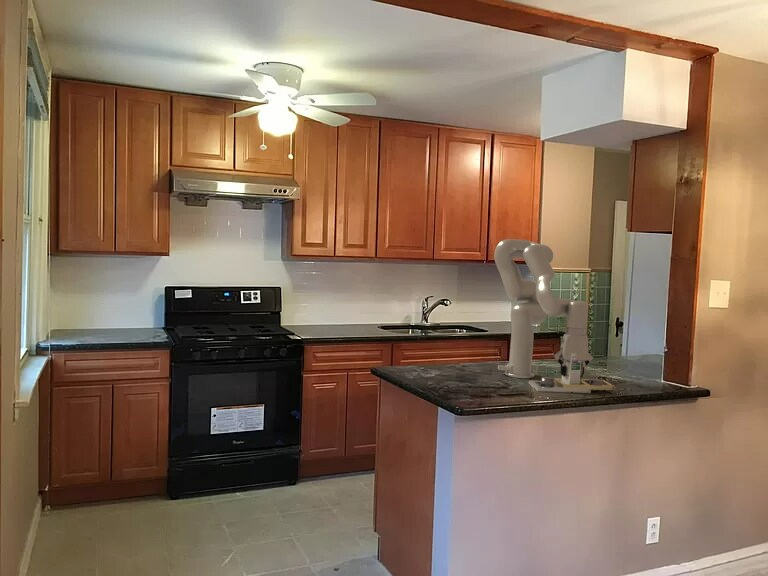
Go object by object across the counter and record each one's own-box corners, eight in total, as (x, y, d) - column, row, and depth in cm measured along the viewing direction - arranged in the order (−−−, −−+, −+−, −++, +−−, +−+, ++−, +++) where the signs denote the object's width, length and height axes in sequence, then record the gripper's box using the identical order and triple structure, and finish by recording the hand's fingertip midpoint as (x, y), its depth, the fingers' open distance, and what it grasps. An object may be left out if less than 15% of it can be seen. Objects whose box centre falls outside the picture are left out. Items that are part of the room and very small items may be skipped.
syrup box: (568, 388, 245) (572, 352, 243) (560, 385, 250) (563, 349, 249) (581, 388, 246) (584, 352, 245) (572, 384, 252) (575, 349, 251)
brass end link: (562, 392, 242) (563, 382, 242) (552, 384, 254) (553, 375, 253) (615, 394, 244) (616, 384, 244) (602, 386, 255) (603, 377, 255)
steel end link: (537, 391, 241) (538, 381, 241) (528, 384, 253) (529, 374, 252) (590, 393, 243) (591, 383, 243) (579, 385, 254) (580, 376, 254)
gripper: (557, 332, 242) (554, 377, 244) (600, 334, 243) (596, 378, 245) (551, 329, 249) (547, 372, 251) (592, 331, 251) (588, 374, 252)
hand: (571, 375), depth 248 cm, fingers closed on syrup box, 6 cm apart
